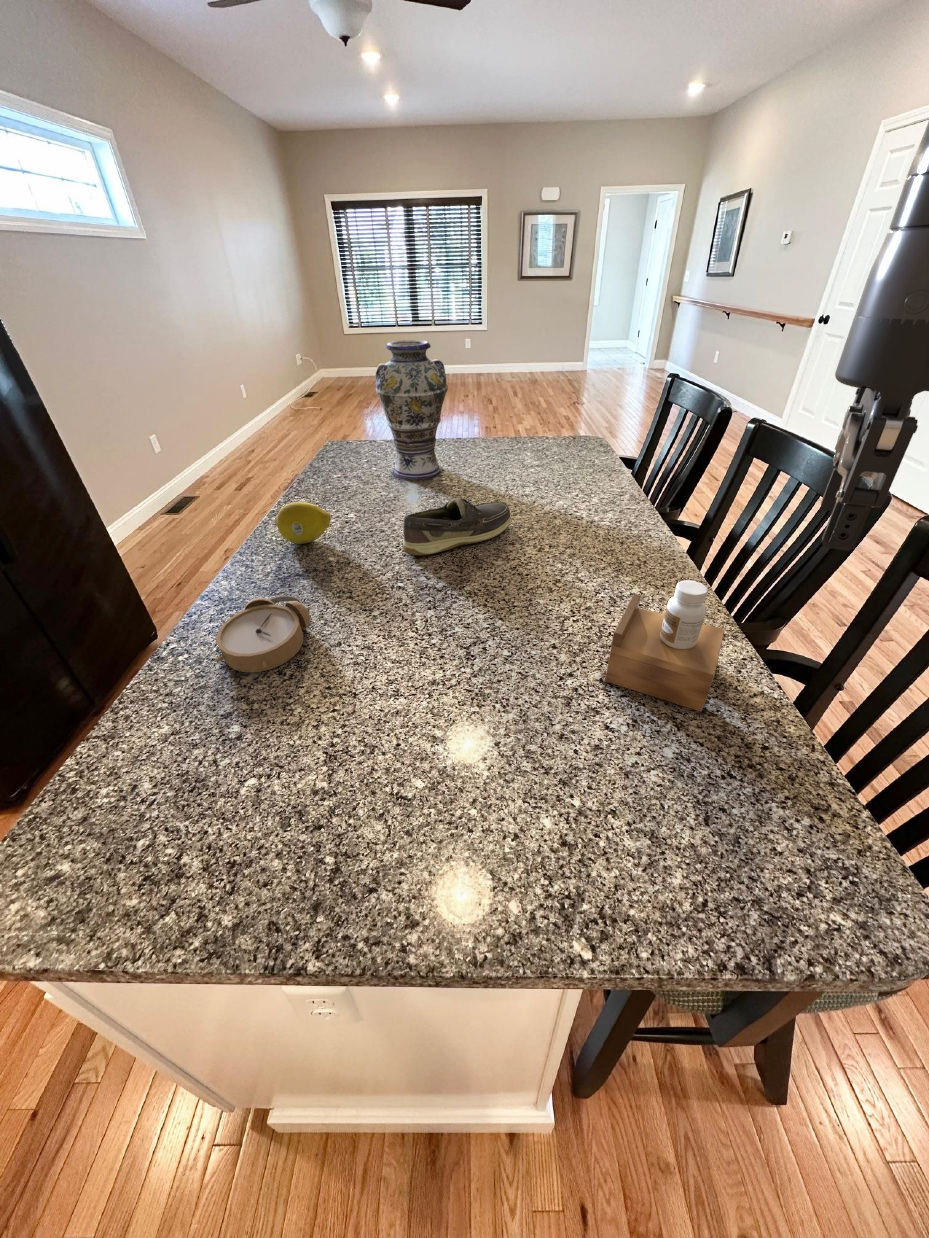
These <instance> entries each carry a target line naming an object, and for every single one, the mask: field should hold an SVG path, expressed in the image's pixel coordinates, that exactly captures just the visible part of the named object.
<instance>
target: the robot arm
mask: <svg viewBox="0 0 929 1238" xmlns="http://www.w3.org/2000/svg"><path fill="white" fill-rule="evenodd" d="M890 221H891V222H890V223H889V224H890V225H889V228H888V229H889V230H888V231H887V232H886V235H885V237H884V240H883V242H882V245H881V246H880V248H879V251H878V253H877V255H876V257H875V259H874V261H873V264H872V266H871V268H870V270H869V273H868V275H867V278H866V281H865V284H864V287H863V290H862V292H861V296H860V298H859V302H858V304H857V308H856V311H855V314H854V317H853V319H852V322H851V325H850V327H849V331H848V335H847V337H846V339H845V342H844V345H843V349H842V352H841V354H840V358H839V360H838V363H837V366H836V370H835V372H834V376H835V379H836V380H837V381H838V383H840V384H843V385H845V386H848V387H851V388H856V390H855V397H854V400H853V403H852V405H848V407H847V409H846V412H845V414H844V418H843V422H842V428H841V430H840V433H839V435H838V437H837V440H836V444H835V446H834V450H835V453H834V454H835V455H834V456H833V459H832V462H833V463H832V466H833V468H832V469H833V470H832V472H831V475H830V477H829V480H828V483H827V485H826V487H825V491H824V493H823V496H822V499H821V502H820V507H821V509H822V510H823V511H825V512H827V511H828V512H831V514H830V516H829V519H828V522H827V524H826V527H825V530H824V532H823V534H822V537H821V544H822V546H823V547H824V548H827V549H833V550H839V551H844V552H845V551H846V552H848V551H851V550H853V549H854V548H855V547H856V544H857V542H858V540H859V538H860V536H861V533H862V531H863V528H864V527H865V524H866V522H867V519H868V517H869V515H870V513H871V510H872V508H882V507H883V505H884V504H886V502H887V500H888V494H889V492H890V489H891V487H892V486H893V482H894V480H895V478H896V476H897V473H898V470H899V468H900V465H901V464H902V461H903V459H904V456H905V455H906V452H907V449H908V447H909V446H910V442H911V441H912V438H913V436H914V434H915V433H916V432H917V431H918V428H919V425H918V421H919V420H918V419H917V418H916V416H911V413H912V409H911V408H912V405H913V400H914V398H915V396H916V395H918V394H920V393H923V392H929V120H928V122H927V124H926V127H925V129H924V132H923V134H922V137H921V139H920V142H919V144H918V146H917V149H916V152H915V153H914V156H913V159H912V161H911V163H910V166H909V169H908V171H907V174H906V178H905V181H904V184H903V187H902V190H901V193H900V195H899V198H898V201H897V204H896V207H895V209H894V213H893V216H892V219H891V220H890ZM863 478H870V479H872V484H871V488H868V487H860V484H861V482H862V479H863Z"/></svg>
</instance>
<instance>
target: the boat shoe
mask: <svg viewBox="0 0 929 1238" xmlns="http://www.w3.org/2000/svg"><path fill="white" fill-rule="evenodd" d="M512 521H513V519H512V513H511V509H510V507H509V506H508V504H507V503H505V502H503V501H494V502H493V501H492V502H486V503H477V504H475V505H474V504H473V502H472V501H470V500H467V499H465V498H463V497H455V498H451V499H450V500H448V502H446V503H445V504H444V505H443V506H441V507H437V508H429V509H426V510H422V511H418V512H412V513H409V514H406V515H404V516H403V525H402V532H403V535H402V536H403V538H402V550H403V551H404V552H406V553H408V554H410V555H412V556H428V555H429V556H430V555H434V554H438V553H442V552H445V551H449V550H452V549H455V548H458V547H461V546H466V545H473V544H477V543H481V542H483V541H484V542H485V541H488V540H490V539H493V538H495V537H497V536H500V535H501V534H502V533H504V532H505V531H506V530H507V529H508V528H509V526H510V525H511V523H512Z"/></svg>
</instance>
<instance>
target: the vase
mask: <svg viewBox="0 0 929 1238" xmlns="http://www.w3.org/2000/svg"><path fill="white" fill-rule="evenodd" d="M431 347H432V346H431V343H430V342H429V341H427V340H422V339H421V340H419V339H403V340H394V341H389V342H387V344H386V346H385V348H386V350H387V351H390V353H391V358H390V359H389V361H388V362H380V363H379V364H378V365H377V367H376V370H375V375H374V376H375V377H374V378H375V386H376V388H375V393H376V395H377V396H378V399H379V401H380V404H381V407H382V409H383V411H384V415H385V418H386V424H387V426H388V427H389V429H390V432H391V435H392V438H393V444H394V447H395V452H396V458H395V464H394V470H393V474H394V476H396V477H397V478H399V479H403V480H412V481H413V480H414V481H415V480H416V481H417V480H425V479H430V478H434V477H436V476H438V475H439V474H440V473H441V470H442V469H441V467H440V466H439V462H438V459H437V455H436V451H435V450H436V442H437V438H436V437H437V431H438V427H439V425H440V423H441V422H442V419H441V416H442V415H441V414H442V410H443V405H444V401H445V398H446V395H447V393H448V390H449V386H448V384H447V382H448V381H447V375H446V369H445V365H444V363H443V362H442V360H441V359H439V358H435V359H430V358H429V357H427V351H428V349H430V348H431Z"/></svg>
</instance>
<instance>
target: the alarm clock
mask: <svg viewBox="0 0 929 1238" xmlns="http://www.w3.org/2000/svg"><path fill="white" fill-rule="evenodd" d="M282 602H286V603H285V604H284V605H281V604H277V603H282ZM310 611H311V608H310V607H306V606H305V605H304V604H303V601H302V599H300V598H299V597H297V596H293V595H278V596H274V597H271V598H266V597H255V598H252V599H251V600H249V601H248V602H247V604H246V605H245V607H244V610H241V611H239V612H238V613H235V614H234V615H232V616H230V617H229V618H228V619H227V620H225V622H223V623H222V625H221V626H220V627H219V629H218V630H217V633H216V640H215V642H216V644H217V646H218V648H219V651H220V652H221V655H220V656H218V657H217V658H216V659H215V662H216V663H217V664H218V663H220V662H222V661H224V662H225V664H226V665H227V666H228V667H230V668H232V670H234V671H238V672H242V673H260V672H264V671H270V670H272V669H274V668H277V667H280V666H283V664H285V663H286V662H288V661H289V660H291V659H293V658H294V656H296V654H297V653H298V652H300V650H301V648H302V645H303V644H304V632H303V630H306V629H307V628H308V627H309V626H310V624H311V620H312V619H311V614H310Z"/></svg>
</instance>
